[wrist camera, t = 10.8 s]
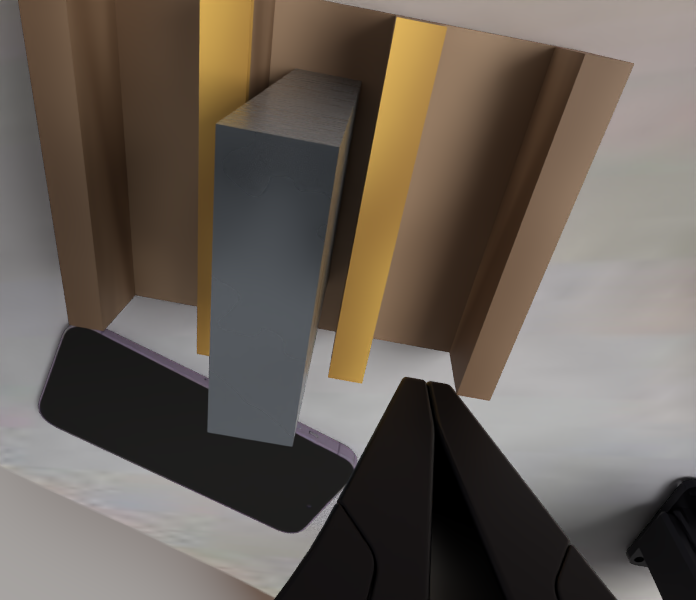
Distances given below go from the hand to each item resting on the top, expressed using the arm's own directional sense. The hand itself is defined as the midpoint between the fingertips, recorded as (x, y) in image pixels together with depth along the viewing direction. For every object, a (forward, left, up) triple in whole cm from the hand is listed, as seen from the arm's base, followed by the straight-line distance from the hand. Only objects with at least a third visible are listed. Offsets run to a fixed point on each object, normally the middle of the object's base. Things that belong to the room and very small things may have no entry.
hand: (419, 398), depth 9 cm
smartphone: (+7, +14, -11) cm, 19 cm away
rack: (+3, 0, -10) cm, 11 cm away
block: (+3, 0, -9) cm, 10 cm away
